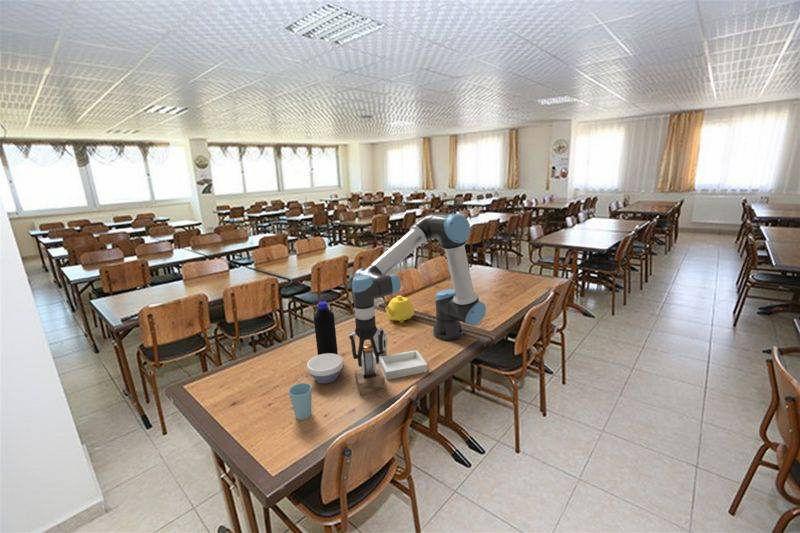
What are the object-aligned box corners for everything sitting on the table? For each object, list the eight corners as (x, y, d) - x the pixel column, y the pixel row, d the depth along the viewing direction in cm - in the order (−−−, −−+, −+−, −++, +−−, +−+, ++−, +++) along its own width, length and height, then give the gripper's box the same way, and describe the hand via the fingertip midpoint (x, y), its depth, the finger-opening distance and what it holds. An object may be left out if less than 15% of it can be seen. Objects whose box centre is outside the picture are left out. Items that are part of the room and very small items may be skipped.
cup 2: (386, 360, 166) (384, 340, 164) (368, 359, 168) (367, 339, 166) (390, 351, 174) (389, 332, 172) (373, 351, 176) (372, 331, 173)
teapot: (398, 329, 198) (397, 305, 195) (376, 323, 208) (374, 300, 204) (419, 317, 213) (418, 294, 210) (398, 311, 223) (397, 290, 219)
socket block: (379, 377, 153) (379, 366, 152) (385, 390, 144) (384, 378, 143) (355, 381, 151) (354, 370, 150) (359, 395, 141) (358, 383, 140)
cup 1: (308, 405, 137) (304, 380, 134) (318, 415, 131) (315, 388, 129) (288, 415, 132) (284, 389, 129) (298, 425, 126) (294, 398, 124)
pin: (374, 381, 150) (372, 343, 146) (377, 387, 146) (374, 348, 141) (363, 383, 149) (360, 345, 145) (365, 390, 145) (362, 350, 140)
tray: (417, 356, 168) (417, 350, 168) (427, 371, 156) (427, 364, 155) (379, 363, 164) (378, 356, 163) (386, 379, 151) (386, 372, 150)
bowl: (327, 391, 145) (325, 374, 143) (301, 382, 152) (299, 365, 151) (351, 374, 157) (350, 357, 155) (325, 365, 164) (324, 350, 162)
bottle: (342, 358, 170) (336, 300, 163) (330, 367, 163) (324, 307, 155) (326, 355, 174) (320, 298, 167) (314, 364, 166) (307, 305, 159)
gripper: (384, 309, 146) (388, 363, 152) (340, 316, 141) (346, 371, 147) (389, 316, 139) (392, 372, 144) (343, 323, 134) (348, 381, 140)
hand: (369, 371), depth 146 cm, fingers open, 4 cm apart
